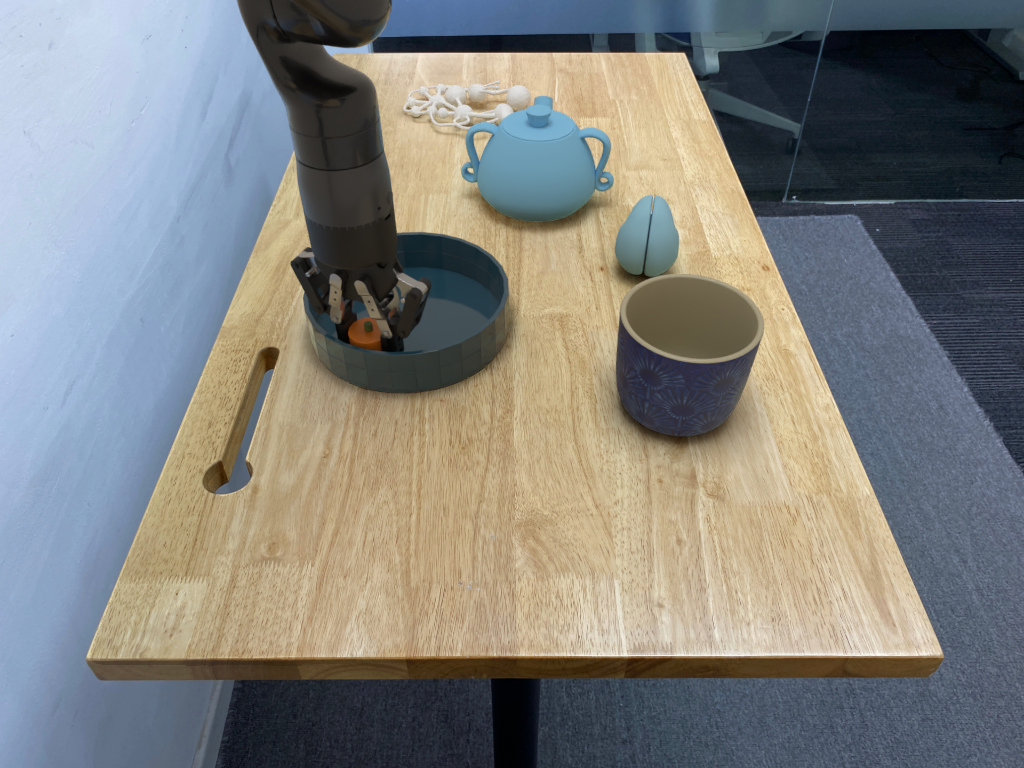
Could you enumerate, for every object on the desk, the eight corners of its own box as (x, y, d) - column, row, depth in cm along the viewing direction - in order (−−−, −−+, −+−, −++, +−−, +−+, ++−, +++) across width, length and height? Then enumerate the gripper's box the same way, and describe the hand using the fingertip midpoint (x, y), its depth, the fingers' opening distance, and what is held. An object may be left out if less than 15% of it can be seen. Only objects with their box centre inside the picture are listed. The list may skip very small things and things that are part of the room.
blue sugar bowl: (452, 227, 97) (446, 132, 88) (475, 153, 111) (473, 65, 103) (609, 238, 95) (620, 142, 87) (613, 161, 110) (622, 72, 101)
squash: (367, 373, 75) (361, 342, 72) (344, 353, 77) (338, 321, 74) (401, 355, 77) (397, 324, 74) (378, 336, 79) (373, 305, 76)
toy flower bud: (687, 174, 90) (685, 221, 81) (676, 241, 96) (672, 292, 87) (626, 168, 91) (617, 214, 82) (618, 235, 97) (609, 285, 88)
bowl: (385, 425, 72) (379, 387, 69) (275, 318, 84) (265, 281, 80) (548, 331, 82) (550, 293, 79) (431, 247, 94) (427, 211, 90)
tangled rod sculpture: (385, 130, 119) (381, 105, 116) (427, 87, 128) (424, 63, 125) (501, 150, 113) (499, 124, 110) (536, 103, 122) (535, 78, 119)
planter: (704, 351, 80) (724, 264, 72) (762, 436, 71) (792, 347, 64) (591, 372, 78) (600, 284, 70) (637, 463, 69) (652, 373, 61)
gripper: (250, 204, 64) (290, 357, 76) (400, 241, 60) (418, 397, 72) (301, 164, 69) (332, 314, 81) (443, 196, 65) (453, 349, 77)
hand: (372, 352), depth 76 cm, fingers closed on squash, 4 cm apart
